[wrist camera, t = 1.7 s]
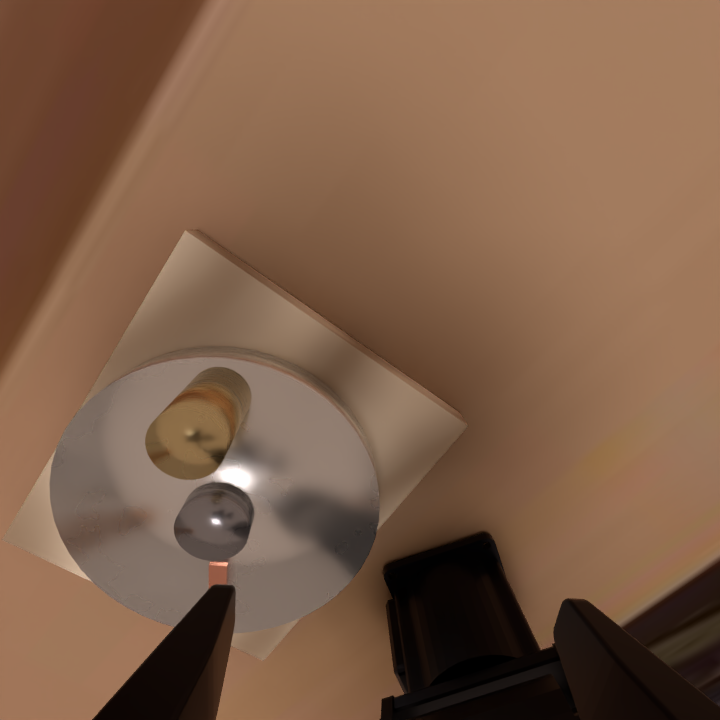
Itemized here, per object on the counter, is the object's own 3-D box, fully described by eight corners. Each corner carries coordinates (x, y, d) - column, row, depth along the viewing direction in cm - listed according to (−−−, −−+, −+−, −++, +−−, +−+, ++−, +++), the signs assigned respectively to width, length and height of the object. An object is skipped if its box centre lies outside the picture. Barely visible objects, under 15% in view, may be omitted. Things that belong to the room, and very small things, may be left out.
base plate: (459, 412, 21) (468, 425, 20) (267, 636, 25) (263, 661, 24) (197, 229, 18) (185, 230, 17) (23, 519, 22) (1, 539, 21)
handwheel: (359, 607, 23) (366, 730, 17) (88, 595, 22) (2, 723, 16) (394, 361, 18) (418, 419, 13) (60, 331, 17) (-70, 380, 12)
